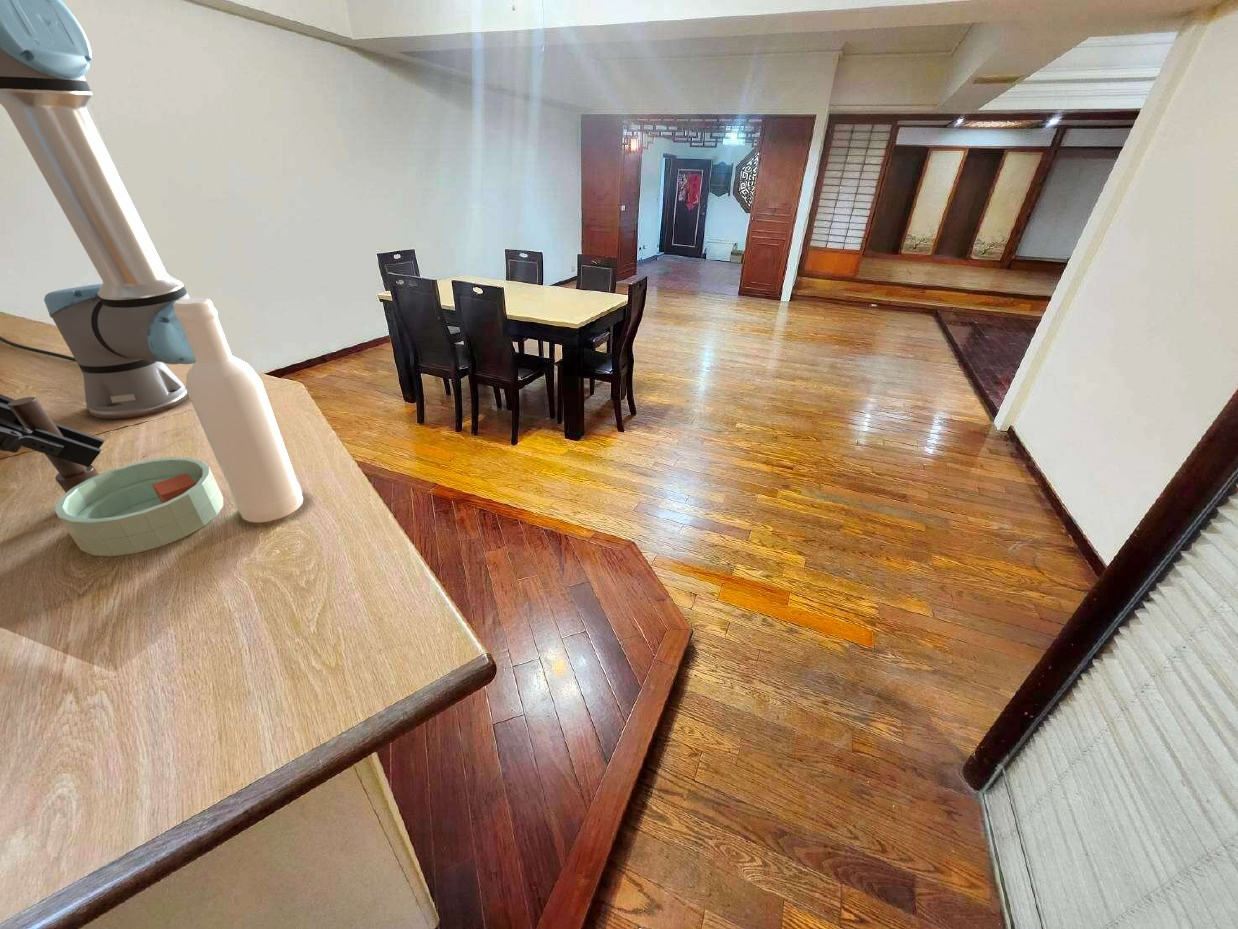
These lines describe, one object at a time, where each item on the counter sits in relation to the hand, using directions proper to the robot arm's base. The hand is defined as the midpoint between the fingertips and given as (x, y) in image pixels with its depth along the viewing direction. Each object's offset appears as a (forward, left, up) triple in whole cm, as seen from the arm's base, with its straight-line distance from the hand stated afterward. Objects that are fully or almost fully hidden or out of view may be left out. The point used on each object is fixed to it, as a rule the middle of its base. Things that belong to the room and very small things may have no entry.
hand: (96, 453), depth 70 cm
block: (+11, +5, -7) cm, 14 cm away
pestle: (-1, -3, -7) cm, 8 cm away
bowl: (+11, +1, -8) cm, 13 cm away
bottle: (+20, +13, -8) cm, 25 cm away
